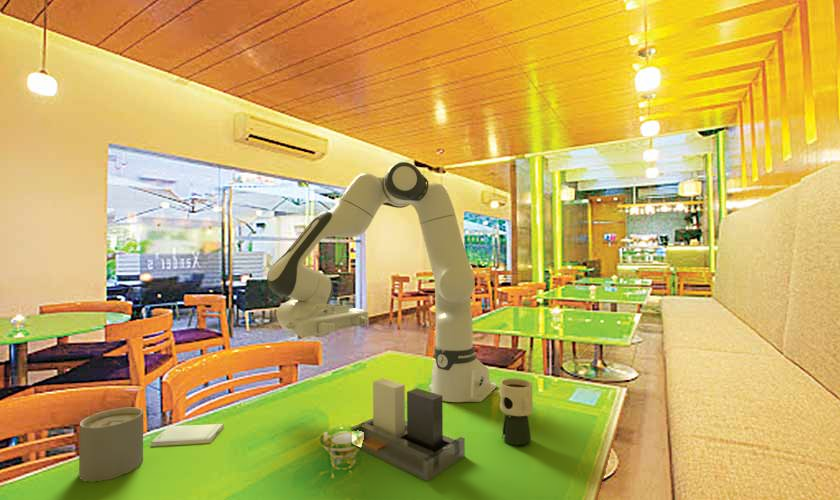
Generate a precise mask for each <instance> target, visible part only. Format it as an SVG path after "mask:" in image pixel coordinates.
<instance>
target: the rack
mask: <svg viewBox="0 0 840 500" xmlns="http://www.w3.org/2000/svg"><path fill="white" fill-rule="evenodd" d="M406 412H407V413H406V420H407V421H406V420H405V432H403V433H401V434H399V435H397V436H395V435H392V434H390V433H388V432H385V431H383V430H380V429H378V428H376V427H373V417H372V418H371V419H368V420H365V421H363V422H361V423H359V424H356V425H354V426H351V427H350V428H351V431H357V430H359V431H362V432H364V440H363V443H362V447H361V449H360V450H362V451H365V453H368V454H371V455H372V456H374V457H377V458H378V459H381V460H383V461H385V462H387V463H389V464H391V465H393V466H395V467H397V468H399V469H401V470H403V471H405V472H407V473H410V474H411V475H412V476H416V477H418V478H419V479H422V480H423V481H424V482H429V481H430V480H432V479H433V478H435V477H436V476H438V475H439V474H441V473H442V472H444V471H445V470H447V469H449V468H450V467H451V466H453V465H454V464H455V463H457V462H459V461H460V460H461V459H463V458H464V457H466V454H465V453H466V451H465V449H466V448H465V445H466V443H465V439H466V438H465V437H462V436H460V437H458V438H457V439H455V438H451V437H449V436H446V435H444V434H443V433H444V431H443V430H444V428H443V423H444V422H443V417H444V416H443V412H444V411H443V401H442V395H438V394H435V393H431V391H427V390H425V389H421V388H418V387H417V388H413V389H411V390H408V391H407V392H406Z"/></svg>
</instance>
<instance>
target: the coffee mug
mask: <svg viewBox="0 0 840 500" xmlns="http://www.w3.org/2000/svg"><path fill="white" fill-rule="evenodd" d="M78 427H79V429H78V430H79V436H78V439H79V442H78V443H79V446H78V447H79V451H78V452H79V454H78V455H79V456H78V460H79V461H78V462H79V463H78V469H79V470H78V478H79V477H80V478H81V479H82V480H86V481H99V482H103V481H102V480H105V481H109V480H113V479H116V477H117V478H119V477H122V476H124V475H123V474H125V475H126V473H127V474H129V473H131V472H132V470H133V469H134V470H136V469H137V468H138V466H139V465H140V464H141V465H142V464H143V462H144V410H143V409H142V408H140V407H133V406H130V407H129V406H128V407H127V406H126V407H118V408H113V409H107V410H104V411H100V412H97V413H94V414H91V415H88V416H87V417H86V418H84V419H82V420H81V421H80V422H79V425H78ZM141 465H140V466H141ZM135 468H136V469H135ZM134 470H133V471H134ZM130 471H131V472H130ZM128 472H129V473H128ZM121 475H122V476H121ZM118 476H119V477H118ZM80 478H79V479H80ZM112 478H113V479H112ZM108 479H109V480H108ZM82 480H81V481H82Z"/></svg>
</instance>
